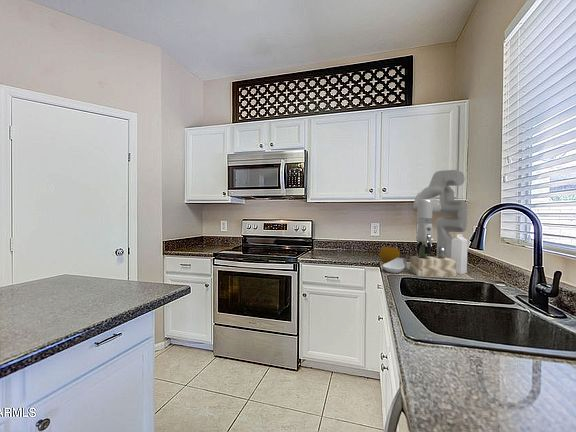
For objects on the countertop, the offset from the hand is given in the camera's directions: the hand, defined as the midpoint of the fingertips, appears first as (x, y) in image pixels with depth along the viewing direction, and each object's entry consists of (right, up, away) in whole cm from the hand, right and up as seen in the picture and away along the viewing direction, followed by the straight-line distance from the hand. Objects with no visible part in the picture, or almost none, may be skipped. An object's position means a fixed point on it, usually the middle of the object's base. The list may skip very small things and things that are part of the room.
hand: (423, 252), depth 166 cm
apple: (-8, -11, +31) cm, 34 cm away
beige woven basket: (+5, -12, 0) cm, 13 cm away
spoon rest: (-12, -12, +9) cm, 19 cm away
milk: (+23, -12, +6) cm, 27 cm away
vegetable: (0, -12, 0) cm, 12 cm away
